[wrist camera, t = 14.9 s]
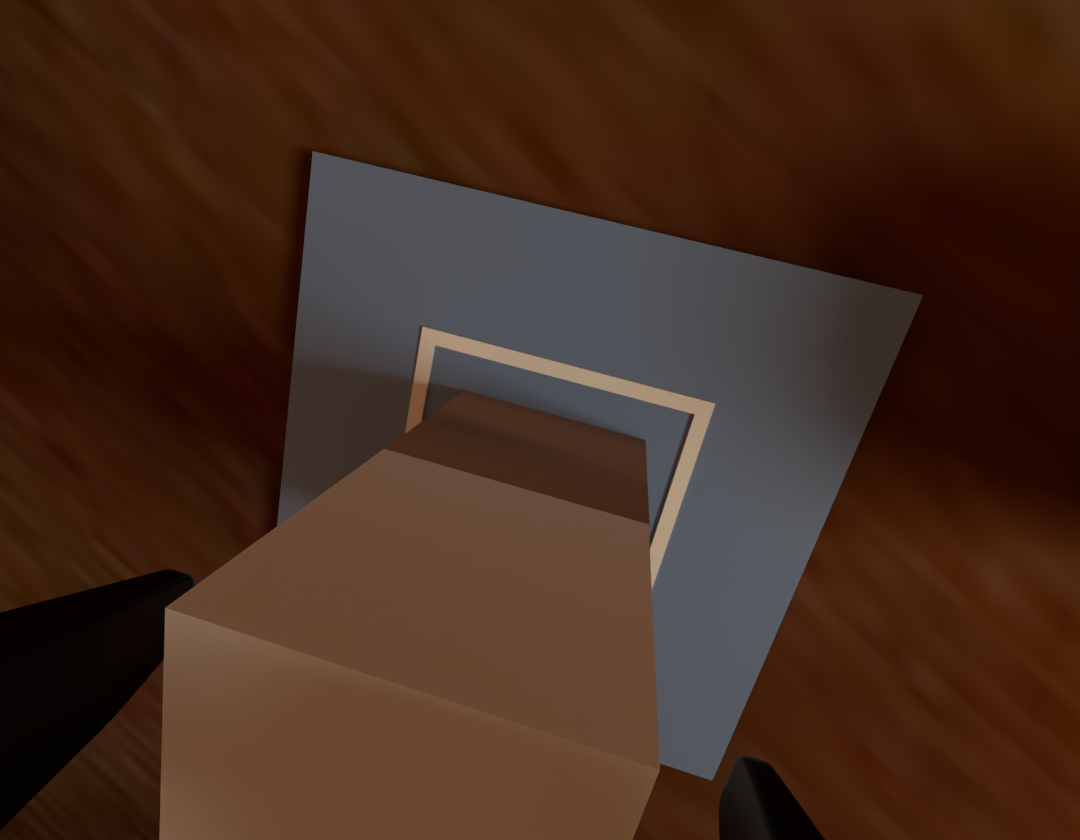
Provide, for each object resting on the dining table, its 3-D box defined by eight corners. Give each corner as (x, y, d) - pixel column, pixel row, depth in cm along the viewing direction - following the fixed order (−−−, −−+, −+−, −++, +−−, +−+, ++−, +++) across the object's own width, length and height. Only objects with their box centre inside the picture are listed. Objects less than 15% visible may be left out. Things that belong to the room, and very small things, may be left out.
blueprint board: (709, 758, 18) (713, 783, 17) (281, 619, 19) (264, 636, 18) (906, 293, 13) (925, 295, 12) (329, 157, 15) (310, 150, 14)
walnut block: (596, 598, 16) (578, 738, 11) (433, 548, 16) (350, 662, 12) (645, 440, 15) (649, 525, 10) (464, 390, 15) (385, 448, 10)
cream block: (579, 738, 11) (537, 1084, 7) (351, 663, 12) (157, 935, 7) (648, 524, 10) (659, 769, 5) (383, 449, 10) (165, 607, 6)
